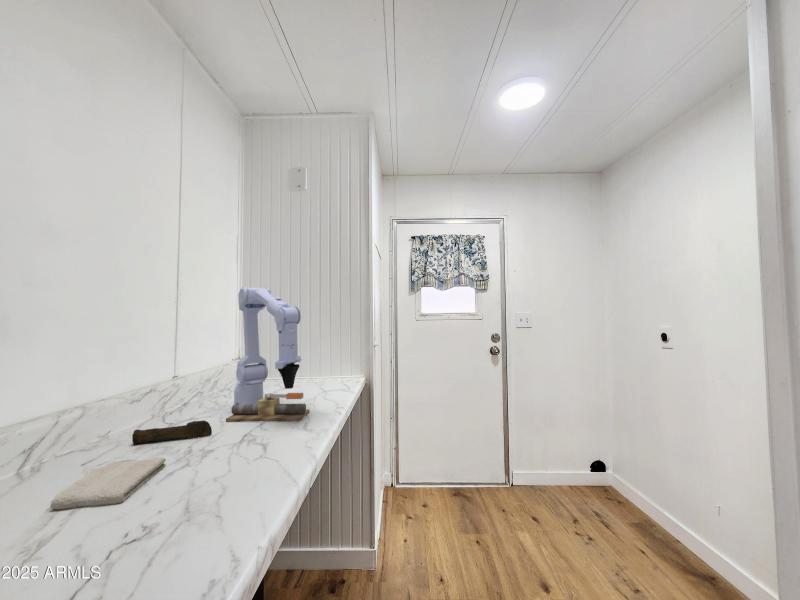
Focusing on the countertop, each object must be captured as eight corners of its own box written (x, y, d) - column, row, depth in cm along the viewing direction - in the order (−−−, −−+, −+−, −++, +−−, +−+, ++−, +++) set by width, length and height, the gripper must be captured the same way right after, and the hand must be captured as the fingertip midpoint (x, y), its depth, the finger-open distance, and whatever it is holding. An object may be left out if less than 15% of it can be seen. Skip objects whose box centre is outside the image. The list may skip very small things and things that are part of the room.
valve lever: (263, 399, 119) (263, 394, 119) (267, 397, 122) (266, 392, 122) (300, 399, 118) (300, 394, 118) (303, 397, 120) (303, 392, 120)
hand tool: (130, 447, 96) (130, 429, 97) (137, 442, 100) (137, 425, 101) (208, 439, 101) (208, 422, 101) (212, 435, 105) (212, 418, 105)
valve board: (225, 421, 116) (225, 402, 116) (241, 413, 126) (241, 395, 126) (299, 421, 114) (298, 401, 115) (309, 412, 124) (309, 394, 125)
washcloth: (168, 466, 84) (168, 452, 84) (123, 506, 66) (123, 489, 67) (111, 471, 82) (111, 457, 82) (48, 514, 64) (48, 497, 65)
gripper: (290, 347, 108) (291, 393, 107) (308, 342, 122) (309, 383, 122) (268, 347, 109) (269, 393, 108) (288, 343, 123) (289, 383, 123)
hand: (289, 388), depth 115 cm, fingers closed
